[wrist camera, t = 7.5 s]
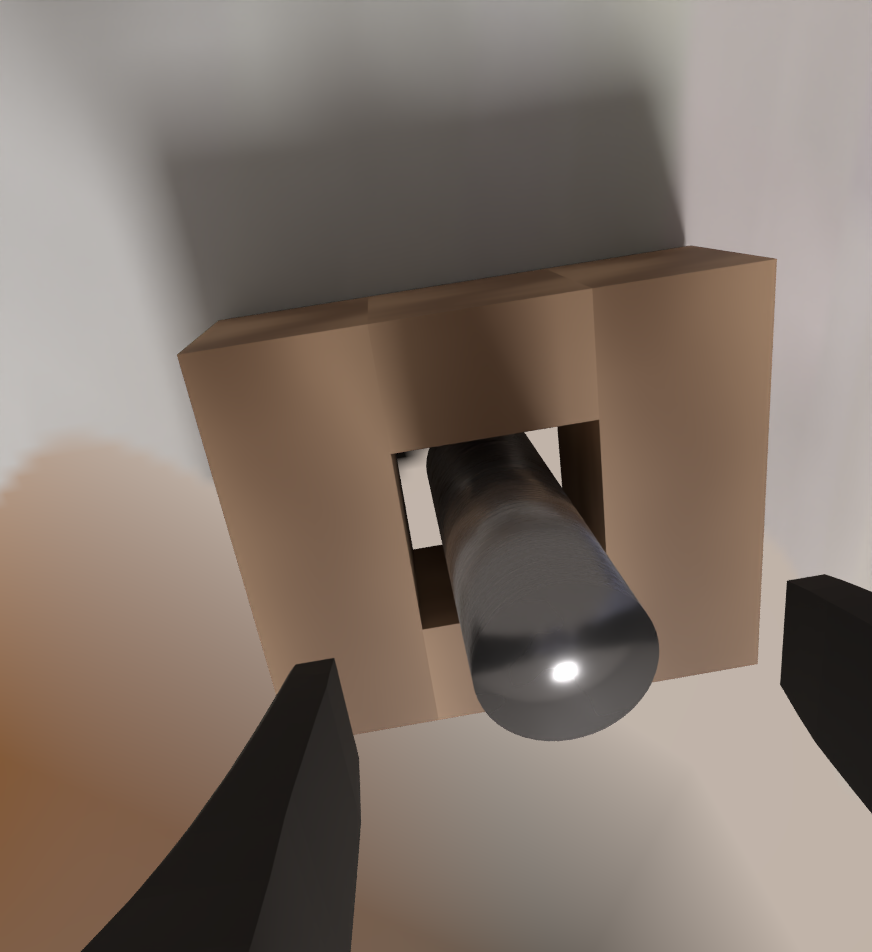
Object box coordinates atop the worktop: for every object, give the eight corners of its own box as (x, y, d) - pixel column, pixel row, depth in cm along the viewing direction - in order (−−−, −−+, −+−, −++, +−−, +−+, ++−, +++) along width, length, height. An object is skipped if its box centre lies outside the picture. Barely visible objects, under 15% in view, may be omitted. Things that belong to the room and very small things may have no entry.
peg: (529, 404, 19) (659, 568, 10) (536, 504, 20) (659, 724, 11) (419, 420, 19) (461, 600, 10) (433, 520, 20) (482, 754, 11)
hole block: (690, 245, 17) (777, 258, 14) (690, 582, 21) (757, 663, 18) (218, 320, 17) (177, 354, 13) (305, 648, 21) (291, 745, 17)
